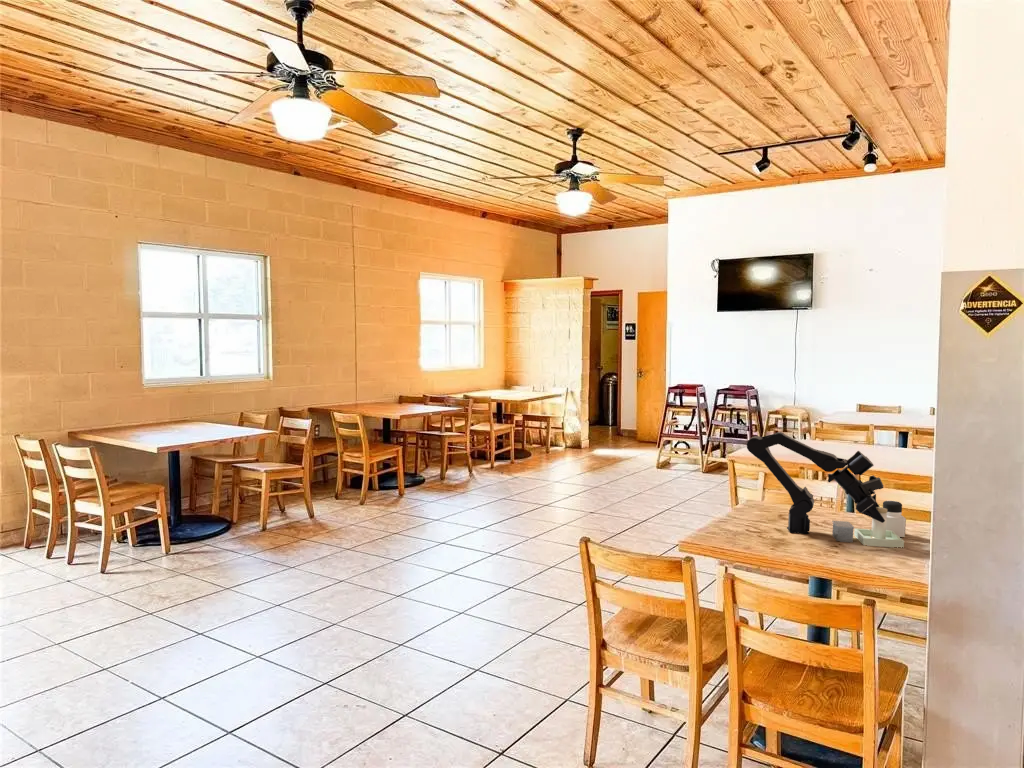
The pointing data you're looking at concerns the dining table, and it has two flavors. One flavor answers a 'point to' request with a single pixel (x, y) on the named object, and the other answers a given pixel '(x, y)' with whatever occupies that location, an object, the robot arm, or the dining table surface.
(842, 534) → the box
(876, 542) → the tray
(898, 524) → the medicine bottle
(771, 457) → the robot arm
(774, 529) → the dining table surface
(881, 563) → the dining table surface
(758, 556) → the dining table surface
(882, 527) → the fuse
